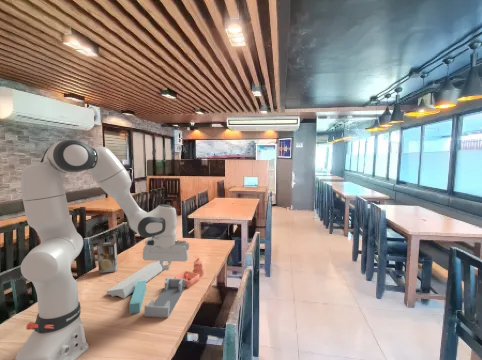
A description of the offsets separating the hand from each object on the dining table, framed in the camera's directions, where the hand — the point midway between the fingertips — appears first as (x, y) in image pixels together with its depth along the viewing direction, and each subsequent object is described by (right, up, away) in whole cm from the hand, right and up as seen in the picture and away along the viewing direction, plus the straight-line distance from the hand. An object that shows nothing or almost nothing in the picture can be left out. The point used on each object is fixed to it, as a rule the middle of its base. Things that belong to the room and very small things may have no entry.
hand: (165, 269), depth 114 cm
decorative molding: (-25, -14, +22) cm, 36 cm away
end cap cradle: (0, -15, +2) cm, 16 cm away
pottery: (+8, -14, +23) cm, 28 cm away
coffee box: (-44, -13, +33) cm, 57 cm away
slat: (-13, -16, +2) cm, 20 cm away
